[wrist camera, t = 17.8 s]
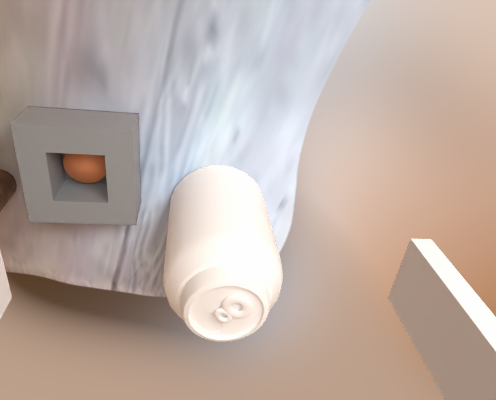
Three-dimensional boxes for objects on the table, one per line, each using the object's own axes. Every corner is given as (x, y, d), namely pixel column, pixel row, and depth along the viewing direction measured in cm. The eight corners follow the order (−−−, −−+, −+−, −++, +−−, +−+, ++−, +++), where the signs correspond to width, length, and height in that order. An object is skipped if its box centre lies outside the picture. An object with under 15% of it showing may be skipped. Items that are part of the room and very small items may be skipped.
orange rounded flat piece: (64, 137, 48) (60, 143, 46) (109, 140, 49) (106, 146, 47) (69, 175, 50) (65, 182, 49) (111, 177, 51) (109, 184, 50)
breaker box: (28, 106, 46) (9, 123, 41) (138, 113, 48) (132, 130, 43) (44, 198, 52) (29, 222, 47) (141, 201, 54) (135, 224, 49)
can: (225, 143, 51) (241, 239, 34) (280, 208, 57) (316, 318, 40) (150, 198, 54) (129, 312, 37) (209, 255, 59) (215, 375, 42)
